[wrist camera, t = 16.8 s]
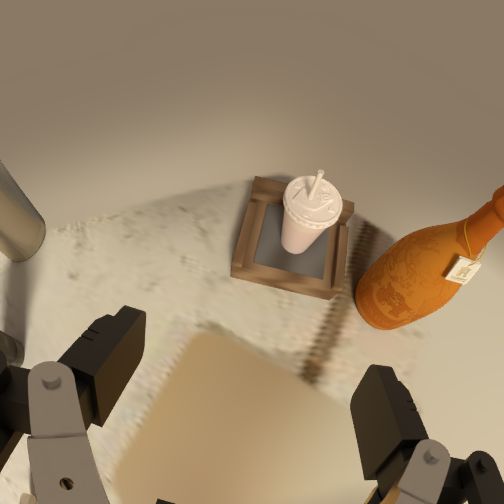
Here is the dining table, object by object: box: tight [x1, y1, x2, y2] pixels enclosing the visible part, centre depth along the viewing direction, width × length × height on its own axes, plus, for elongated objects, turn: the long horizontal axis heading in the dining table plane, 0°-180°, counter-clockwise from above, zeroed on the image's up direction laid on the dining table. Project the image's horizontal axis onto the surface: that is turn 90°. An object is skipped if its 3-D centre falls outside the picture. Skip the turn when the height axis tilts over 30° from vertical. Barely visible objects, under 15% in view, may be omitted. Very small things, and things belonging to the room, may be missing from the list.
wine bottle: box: [355, 185, 504, 330], centre depth 29 cm, size 10×10×30 cm
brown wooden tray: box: [231, 176, 354, 300], centre depth 41 cm, size 14×12×7 cm
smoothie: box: [281, 170, 343, 254], centre depth 34 cm, size 6×6×14 cm
